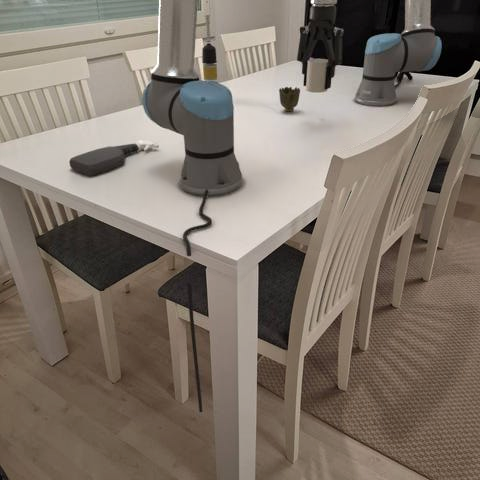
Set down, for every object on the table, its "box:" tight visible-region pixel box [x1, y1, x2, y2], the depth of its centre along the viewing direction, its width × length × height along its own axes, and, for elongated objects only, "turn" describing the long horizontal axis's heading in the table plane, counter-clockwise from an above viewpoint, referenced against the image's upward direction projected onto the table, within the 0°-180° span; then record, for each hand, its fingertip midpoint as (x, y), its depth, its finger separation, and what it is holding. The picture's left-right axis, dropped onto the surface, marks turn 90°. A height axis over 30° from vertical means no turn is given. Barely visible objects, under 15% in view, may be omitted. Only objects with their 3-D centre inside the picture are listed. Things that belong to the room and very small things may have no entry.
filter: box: [201, 14, 219, 83], centre depth 171 cm, size 6×6×30 cm
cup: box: [278, 86, 301, 114], centre depth 159 cm, size 8×7×8 cm
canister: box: [305, 58, 329, 94], centre depth 140 cm, size 7×7×9 cm
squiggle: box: [394, 71, 414, 83], centre depth 198 cm, size 11×10×15 cm
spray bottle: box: [68, 139, 160, 177], centre depth 124 cm, size 3×11×24 cm
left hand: (316, 86), depth 142 cm, fingers closed on canister, 7 cm apart
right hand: (479, 11), depth 128 cm, fingers open, 13 cm apart
